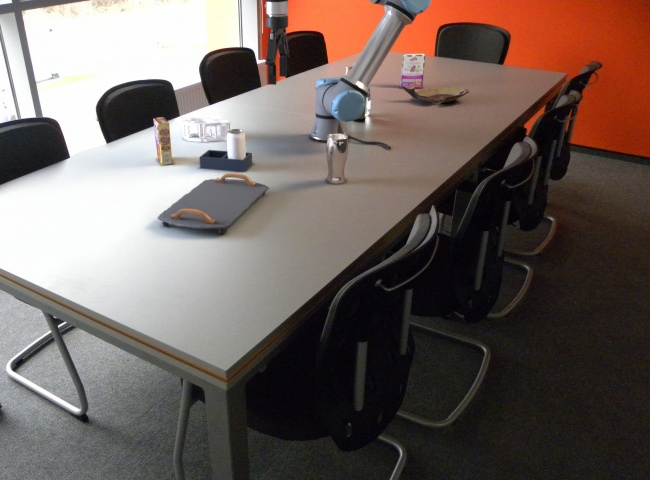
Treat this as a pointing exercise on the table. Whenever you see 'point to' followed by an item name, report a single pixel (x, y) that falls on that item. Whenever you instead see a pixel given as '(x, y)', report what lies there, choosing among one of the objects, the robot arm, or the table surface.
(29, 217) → the table surface
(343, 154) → the beer glass
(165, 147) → the candy box
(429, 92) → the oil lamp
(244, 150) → the can
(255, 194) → the serving tray
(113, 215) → the table surface
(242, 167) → the tray
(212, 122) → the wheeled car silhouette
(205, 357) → the table surface
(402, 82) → the candy bar box
